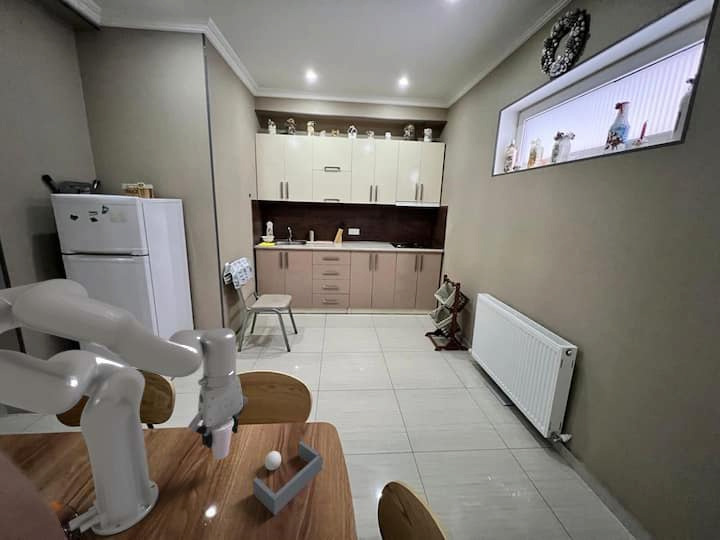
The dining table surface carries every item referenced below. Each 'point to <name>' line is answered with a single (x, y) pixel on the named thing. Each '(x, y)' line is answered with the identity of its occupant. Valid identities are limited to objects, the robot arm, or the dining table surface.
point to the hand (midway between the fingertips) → (220, 437)
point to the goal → (294, 485)
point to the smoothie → (221, 438)
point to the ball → (273, 460)
